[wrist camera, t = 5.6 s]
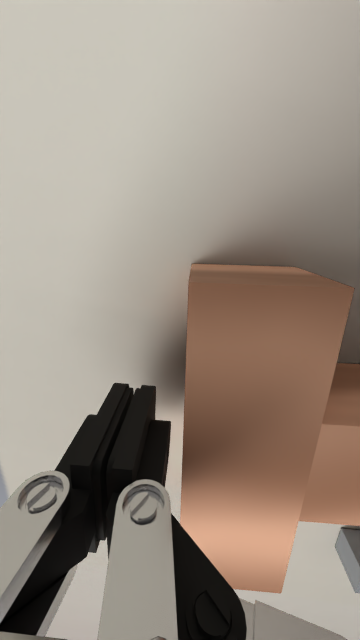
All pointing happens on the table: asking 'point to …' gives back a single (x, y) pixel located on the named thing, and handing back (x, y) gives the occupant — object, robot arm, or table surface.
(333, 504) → the T block
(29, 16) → the table surface
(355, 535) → the T outline
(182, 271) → the table surface
